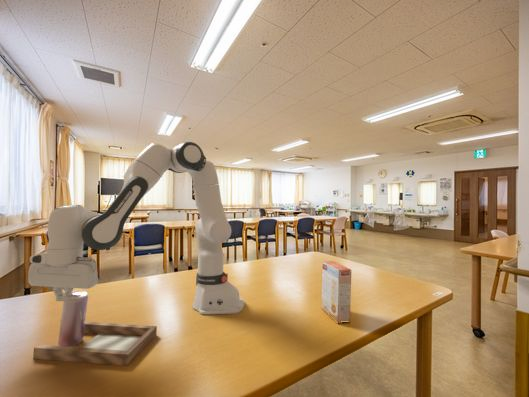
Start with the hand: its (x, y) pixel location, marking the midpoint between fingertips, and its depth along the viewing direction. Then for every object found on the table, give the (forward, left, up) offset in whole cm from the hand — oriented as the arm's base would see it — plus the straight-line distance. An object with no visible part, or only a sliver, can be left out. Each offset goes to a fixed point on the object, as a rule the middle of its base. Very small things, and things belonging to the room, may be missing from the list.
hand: (62, 300), depth 73 cm
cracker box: (-91, -30, -13) cm, 97 cm away
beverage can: (-3, 0, -13) cm, 13 cm away
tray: (-12, 0, -13) cm, 18 cm away
